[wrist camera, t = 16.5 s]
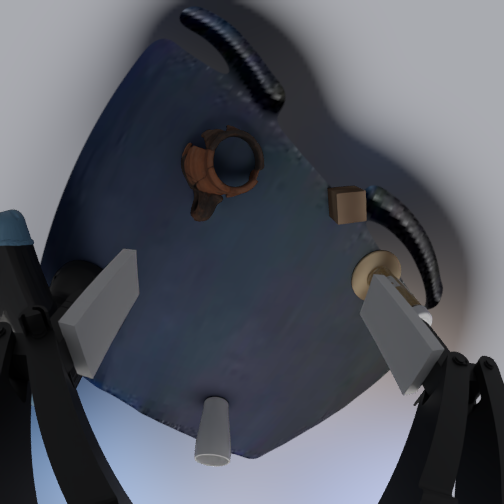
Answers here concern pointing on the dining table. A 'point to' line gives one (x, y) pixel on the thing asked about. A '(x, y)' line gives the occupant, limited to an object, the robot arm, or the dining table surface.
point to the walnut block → (347, 204)
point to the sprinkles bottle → (402, 292)
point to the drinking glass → (214, 434)
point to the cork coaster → (370, 264)
